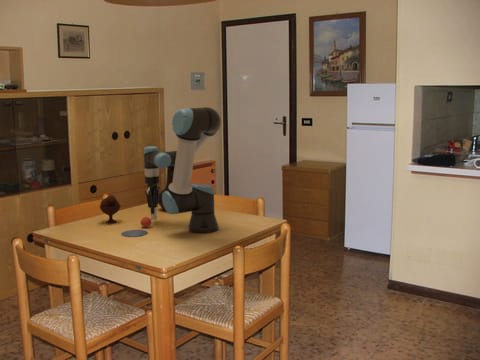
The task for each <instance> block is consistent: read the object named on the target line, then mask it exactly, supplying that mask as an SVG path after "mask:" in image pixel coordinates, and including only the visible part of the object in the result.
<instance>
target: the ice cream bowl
mask: <svg viewBox="0 0 480 360" xmlns="http://www.w3.org/2000/svg"><path fill="white" fill-rule="evenodd" d="M121 206H122V205H121V204H120V201H118V200H117V198H116V197H115V195H111V194H110V195H108V196H107V197H105V198H103V199H102V200H101V202H100V205H99V209H100V211H101V212H102V213H103V214H105V215H107V216H108V220H106V221H105V223H106V224H115V223H117V221H116V219H113V215H115V214H116V213H118V212H119V211H120V209H121Z"/></svg>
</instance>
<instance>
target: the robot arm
mask: <svg viewBox="0 0 480 360" xmlns="http://www.w3.org/2000/svg"><path fill="white" fill-rule="evenodd" d="M171 121H172V122H171V126H172V131H173V133H175V136H176V138H178V140H177V147H176V150H171V151H170V150H169V151H159V148H158V146H153V145H152V146H149V145H148V146H144V148H143V164H144V165H143V166H144V170H143V172H144V183H145V184H146V185H147V190H145V191H144V193H145V195H146V202H147V207H148V208H149V209H150V219H151V221H152V220H155V221H156V220H158V219H157V218H158V216H157V208H158V207H159V203H158V200H159V193H160V188H161V187H160V186H158V185H159V184H160V176H159V175H160V169H167V167H168V166H174V165H175V167H174V174H173V181H172V183H171V184H170V185H169V187H168V191H165V192H164V193H163V194H162V201H163V205H164V208H165V210H164V211H166V213H167V214H169V215H179V214H183V213H188V212H191V216H190V219H189V222H188V231H189V232H190V233H196V234H197V233H198V234H206V233H207V234H208V233H214V232H216V231H218V230H219V223H218V220H217V218H216V214H215V189H214V186H212V185H209V184H204V183H191V181H192V174H193V167H194V164H195V163H194V161H195V156H196V155H195V154H196V153H197V152H198V151H199V150H200V148H201V147H202V146H203V145H204V144H205V143H206V142H207V140H209V139H210V138H211V137H213V136H215V135H216V134H217V133H218V131H219V130H220V129H221V127H222V126H221V124H222V119H221V116H220V113H218V112H217V110H215V109H214V108H212V107H207V106H206V107H205V106H204V107H185V108H179V109H177V111H175V113H174V114H173V116H172V120H171Z"/></svg>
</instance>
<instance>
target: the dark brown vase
mask: <svg viewBox="0 0 480 360" xmlns="http://www.w3.org/2000/svg"><path fill="white" fill-rule="evenodd" d="M174 167H175V165H174V166H168V167H167V168H166V183H165V188H164V189H163V190H161V191H159V200H158V206H159V207H160V208H161V209H163V210H164V211H166V210H165V208H164V205H163V201H162V194H163V193H164V192H165V191H168V187H169V185H170V184H171V183H172V181H173V174H174Z"/></svg>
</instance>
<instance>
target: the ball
mask: <svg viewBox="0 0 480 360" xmlns="http://www.w3.org/2000/svg"><path fill="white" fill-rule="evenodd" d="M151 224H152V220H151V217H149V216H143V217H142V218H141V220H140V225H141V226H142V227H143V228H149V227H150V226H151Z"/></svg>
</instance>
